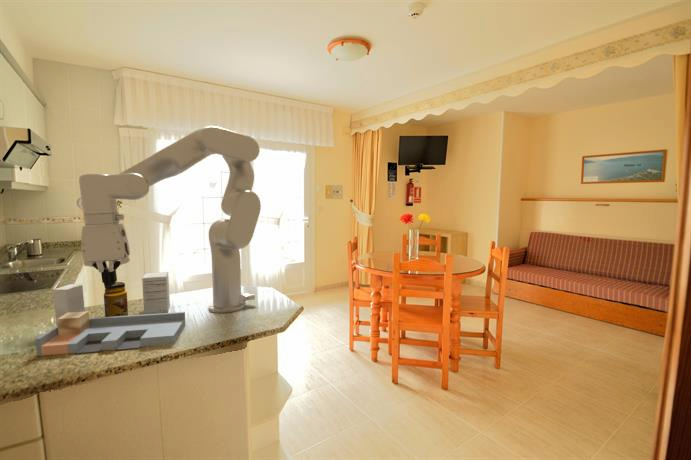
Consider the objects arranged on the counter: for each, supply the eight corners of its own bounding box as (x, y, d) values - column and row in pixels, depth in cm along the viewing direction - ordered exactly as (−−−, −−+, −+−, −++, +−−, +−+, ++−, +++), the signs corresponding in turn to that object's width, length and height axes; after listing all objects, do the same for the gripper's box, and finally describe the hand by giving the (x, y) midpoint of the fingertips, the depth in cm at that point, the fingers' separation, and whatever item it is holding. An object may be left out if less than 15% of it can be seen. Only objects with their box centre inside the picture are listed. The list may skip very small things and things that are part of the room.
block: (89, 326, 94) (88, 311, 93) (80, 333, 89) (78, 317, 89) (69, 328, 93) (67, 312, 92) (58, 335, 88) (57, 319, 87)
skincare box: (72, 320, 104) (70, 283, 103) (86, 321, 104) (83, 284, 103) (55, 328, 98) (52, 289, 97) (69, 328, 98) (66, 289, 97)
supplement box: (146, 308, 117) (145, 273, 115) (170, 305, 120) (168, 271, 118) (143, 315, 110) (141, 277, 109) (168, 312, 113) (166, 276, 111)
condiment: (129, 321, 104) (127, 284, 103) (96, 327, 99) (93, 288, 98) (129, 314, 110) (127, 279, 109) (98, 319, 105) (95, 283, 104)
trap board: (185, 325, 101) (184, 311, 101) (173, 345, 88) (172, 329, 87) (67, 334, 94) (66, 319, 94) (34, 357, 80) (32, 340, 80)
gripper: (137, 217, 95) (144, 278, 97) (77, 219, 92) (86, 283, 94) (127, 219, 88) (135, 286, 90) (61, 222, 84) (71, 291, 87)
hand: (110, 284), depth 92 cm, fingers closed
